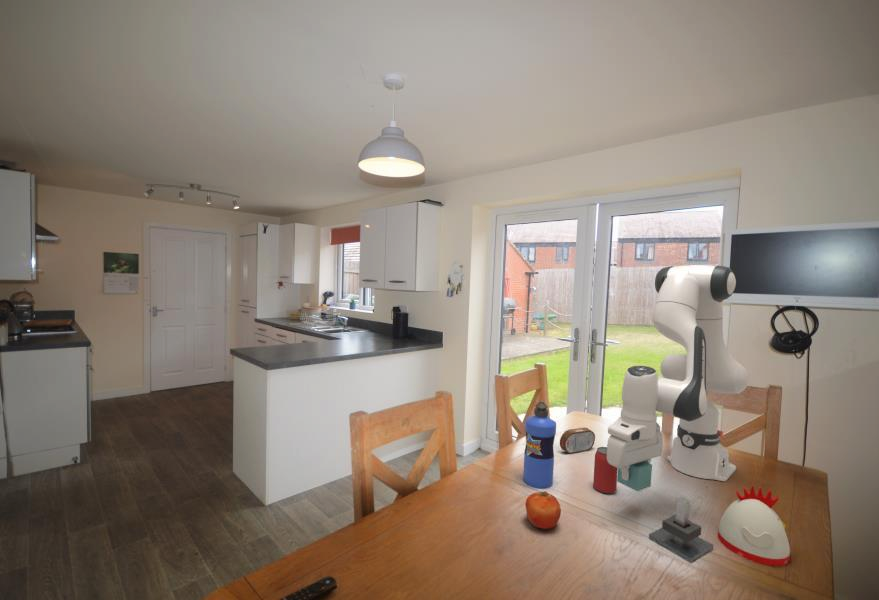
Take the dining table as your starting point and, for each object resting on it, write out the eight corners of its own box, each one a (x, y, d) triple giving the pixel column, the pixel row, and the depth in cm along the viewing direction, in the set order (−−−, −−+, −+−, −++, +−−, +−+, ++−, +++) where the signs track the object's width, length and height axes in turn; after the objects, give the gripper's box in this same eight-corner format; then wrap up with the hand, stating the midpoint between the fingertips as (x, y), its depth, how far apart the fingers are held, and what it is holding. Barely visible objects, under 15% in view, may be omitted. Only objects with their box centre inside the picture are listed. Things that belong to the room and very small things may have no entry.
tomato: (541, 538, 100) (542, 506, 100) (517, 518, 108) (518, 488, 108) (569, 528, 104) (570, 498, 104) (544, 510, 112) (545, 481, 112)
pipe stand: (671, 526, 107) (674, 485, 106) (713, 548, 98) (716, 504, 98) (648, 538, 101) (651, 494, 101) (690, 562, 93) (694, 515, 92)
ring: (675, 521, 104) (676, 514, 104) (700, 534, 99) (701, 526, 99) (662, 528, 101) (662, 520, 101) (687, 542, 96) (687, 534, 95)
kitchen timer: (794, 574, 90) (800, 508, 90) (719, 551, 98) (723, 489, 97) (783, 541, 102) (787, 482, 101) (716, 522, 109) (720, 467, 109)
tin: (589, 447, 157) (590, 425, 157) (596, 450, 154) (597, 428, 154) (558, 452, 151) (559, 430, 150) (564, 456, 148) (565, 433, 148)
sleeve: (630, 476, 116) (631, 456, 116) (650, 486, 111) (652, 464, 111) (617, 481, 113) (618, 460, 113) (637, 491, 108) (638, 469, 108)
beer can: (618, 496, 121) (620, 456, 121) (594, 492, 123) (597, 453, 122) (613, 485, 128) (615, 447, 127) (591, 482, 129) (593, 445, 128)
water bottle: (541, 492, 122) (545, 409, 121) (516, 479, 129) (520, 401, 128) (559, 482, 128) (563, 403, 127) (534, 471, 135) (537, 396, 134)
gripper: (649, 417, 120) (646, 464, 120) (603, 428, 109) (600, 479, 110) (670, 424, 114) (667, 473, 115) (625, 436, 104) (621, 489, 104)
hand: (634, 476), depth 112 cm, fingers closed on sleeve, 6 cm apart
